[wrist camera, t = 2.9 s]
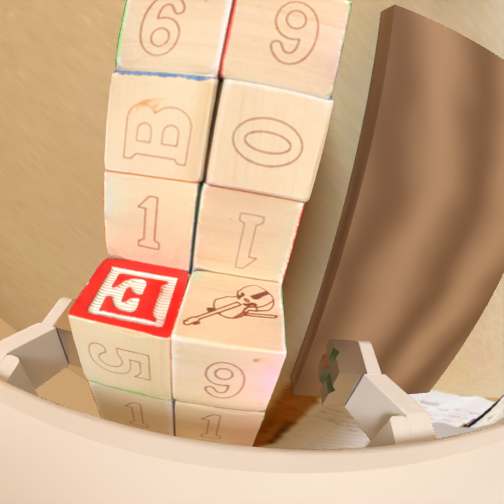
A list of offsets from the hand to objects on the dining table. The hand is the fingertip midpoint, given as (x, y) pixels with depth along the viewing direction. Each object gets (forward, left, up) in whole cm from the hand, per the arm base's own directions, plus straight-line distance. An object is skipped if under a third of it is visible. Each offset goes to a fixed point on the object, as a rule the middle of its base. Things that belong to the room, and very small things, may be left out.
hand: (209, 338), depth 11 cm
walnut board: (+14, 0, -10) cm, 17 cm away
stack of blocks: (-1, +1, -10) cm, 10 cm away
